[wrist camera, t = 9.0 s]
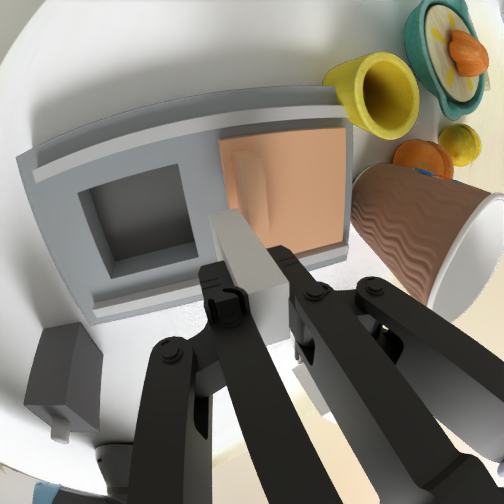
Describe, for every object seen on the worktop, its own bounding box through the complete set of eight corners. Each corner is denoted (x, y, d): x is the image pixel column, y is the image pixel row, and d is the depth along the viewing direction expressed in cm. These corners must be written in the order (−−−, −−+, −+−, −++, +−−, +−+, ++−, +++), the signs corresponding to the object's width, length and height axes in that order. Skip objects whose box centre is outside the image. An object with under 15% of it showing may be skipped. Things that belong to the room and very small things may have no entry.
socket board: (94, 305, 20) (88, 332, 18) (32, 149, 13) (9, 160, 10) (331, 246, 24) (351, 265, 22) (331, 87, 17) (358, 87, 14)
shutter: (236, 261, 19) (250, 291, 16) (217, 139, 14) (229, 148, 12) (336, 236, 20) (361, 258, 18) (338, 126, 16) (371, 134, 13)
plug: (67, 360, 22) (57, 449, 13) (43, 329, 20) (20, 424, 11) (103, 354, 23) (99, 451, 14) (80, 321, 21) (63, 428, 12)
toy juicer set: (402, 223, 26) (454, 260, 19) (296, 89, 16) (367, 87, 10) (492, 82, 19) (534, 93, 13) (434, -29, 10) (483, -34, 3)
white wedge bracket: (310, 377, 36) (335, 424, 29) (283, 351, 31) (312, 411, 23) (331, 364, 36) (358, 410, 29) (309, 335, 30) (343, 392, 23)
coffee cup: (422, 196, 24) (509, 251, 14) (362, 265, 26) (438, 344, 17) (385, 121, 19) (508, 160, 9) (307, 203, 21) (413, 295, 11)
